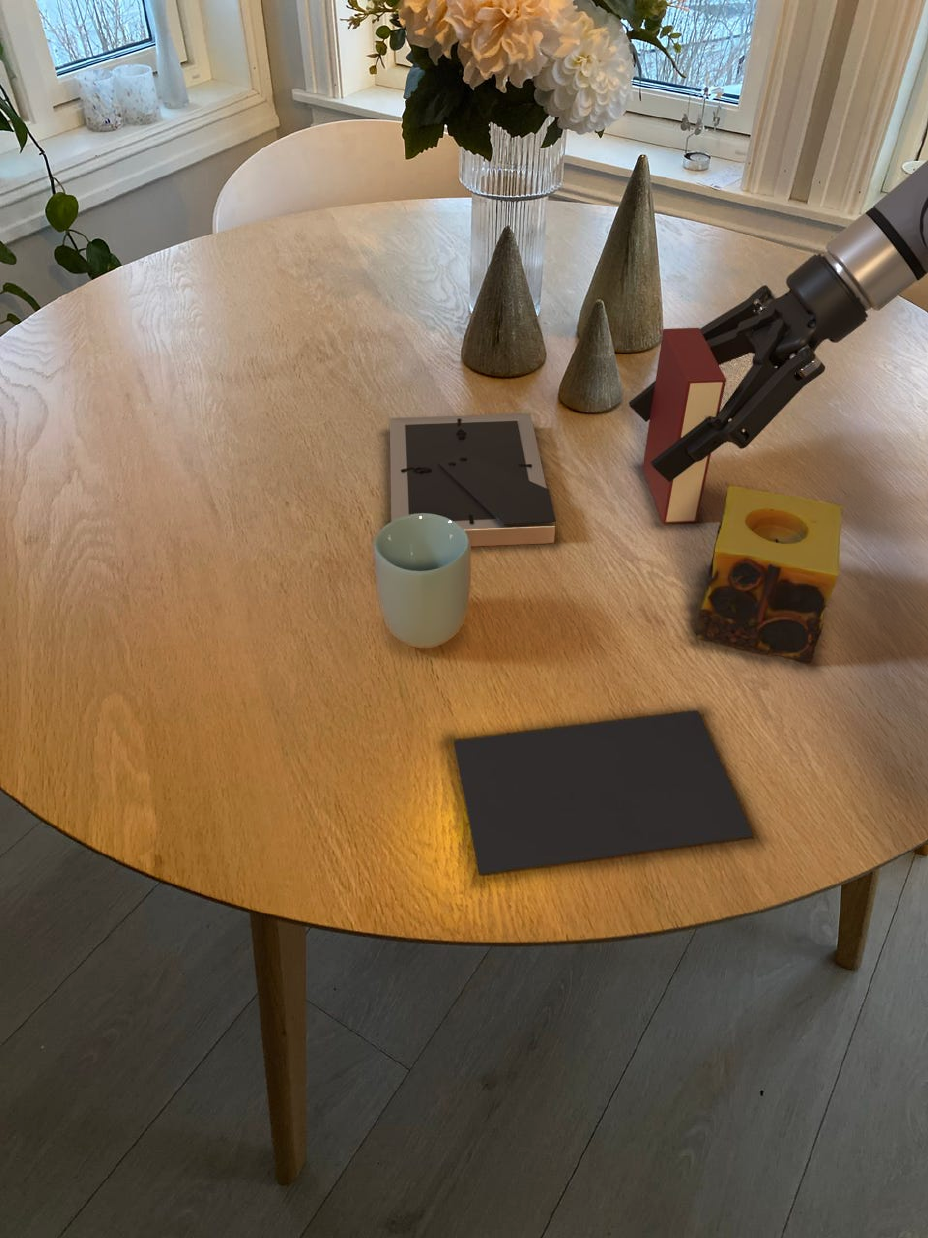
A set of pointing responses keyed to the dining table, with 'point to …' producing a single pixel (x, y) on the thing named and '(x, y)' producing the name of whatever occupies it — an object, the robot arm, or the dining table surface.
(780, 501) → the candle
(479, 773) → the mat
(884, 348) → the dining table surface
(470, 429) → the picture frame
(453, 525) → the cup
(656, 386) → the book
